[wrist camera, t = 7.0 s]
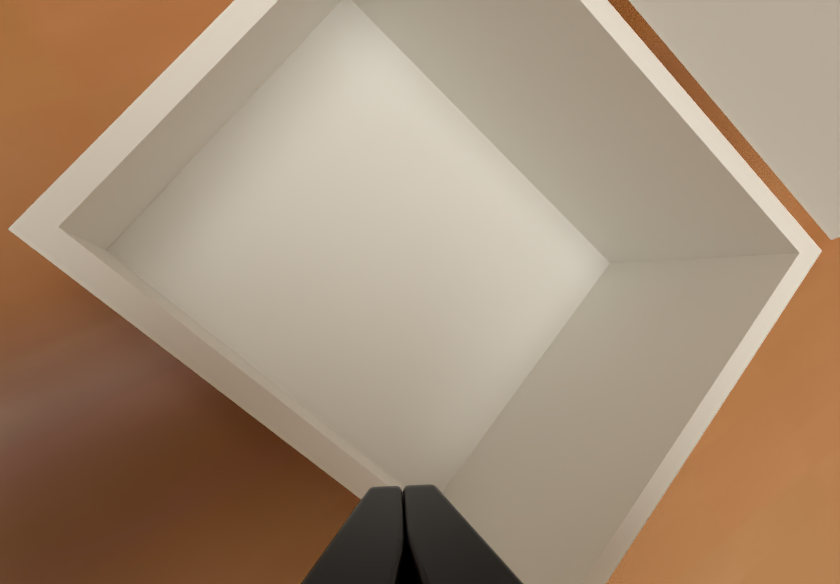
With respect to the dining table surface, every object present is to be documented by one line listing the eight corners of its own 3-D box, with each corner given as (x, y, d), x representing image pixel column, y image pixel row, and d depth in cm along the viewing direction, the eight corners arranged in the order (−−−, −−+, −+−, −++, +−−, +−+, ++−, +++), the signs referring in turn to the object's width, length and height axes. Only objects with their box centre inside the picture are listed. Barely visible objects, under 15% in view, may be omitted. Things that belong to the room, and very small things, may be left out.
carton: (427, 524, 22) (561, 652, 14) (78, 253, 18) (7, 229, 11) (618, 262, 24) (822, 251, 16) (340, -22, 20) (434, -202, 13)
